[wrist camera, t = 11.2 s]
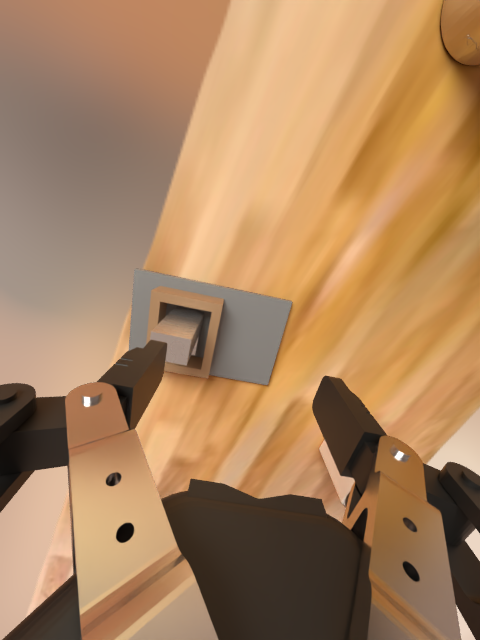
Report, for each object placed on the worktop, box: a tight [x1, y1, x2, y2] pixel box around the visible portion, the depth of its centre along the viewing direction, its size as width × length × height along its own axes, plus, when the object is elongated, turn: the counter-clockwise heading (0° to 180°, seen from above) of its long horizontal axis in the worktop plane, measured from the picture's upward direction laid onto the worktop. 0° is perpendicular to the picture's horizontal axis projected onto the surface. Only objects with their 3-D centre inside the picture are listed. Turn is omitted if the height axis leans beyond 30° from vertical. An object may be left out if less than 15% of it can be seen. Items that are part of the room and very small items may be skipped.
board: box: [129, 268, 292, 385], centre depth 32 cm, size 14×22×4 cm, turn 78°
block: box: [150, 306, 204, 366], centre depth 28 cm, size 6×4×10 cm, turn 167°
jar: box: [319, 439, 355, 507], centre depth 35 cm, size 9×8×12 cm
